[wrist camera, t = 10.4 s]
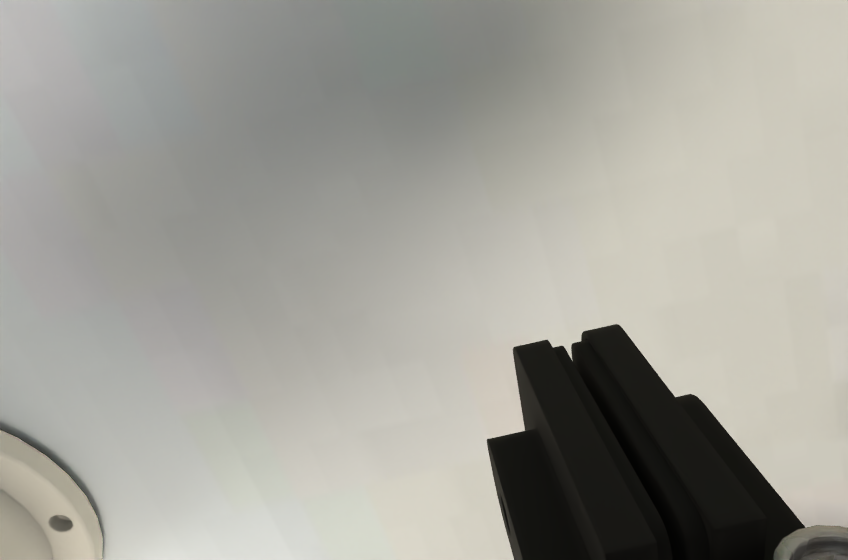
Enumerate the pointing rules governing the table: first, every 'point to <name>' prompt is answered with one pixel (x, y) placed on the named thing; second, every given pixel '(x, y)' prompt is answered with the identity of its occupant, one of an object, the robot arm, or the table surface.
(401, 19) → the table surface
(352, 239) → the table surface
